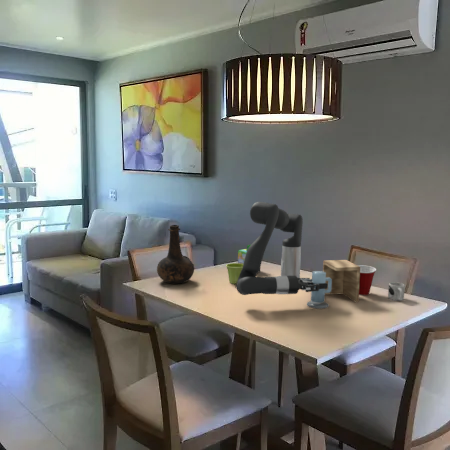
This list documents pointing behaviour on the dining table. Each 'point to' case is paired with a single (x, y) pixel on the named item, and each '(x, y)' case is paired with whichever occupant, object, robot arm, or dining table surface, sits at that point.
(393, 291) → the mug
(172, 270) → the glass bottle
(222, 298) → the dining table surface
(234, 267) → the plant pot
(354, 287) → the shelf
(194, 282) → the dining table surface
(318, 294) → the light blue piece
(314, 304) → the coaster
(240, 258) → the chalk box
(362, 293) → the plastic cup
